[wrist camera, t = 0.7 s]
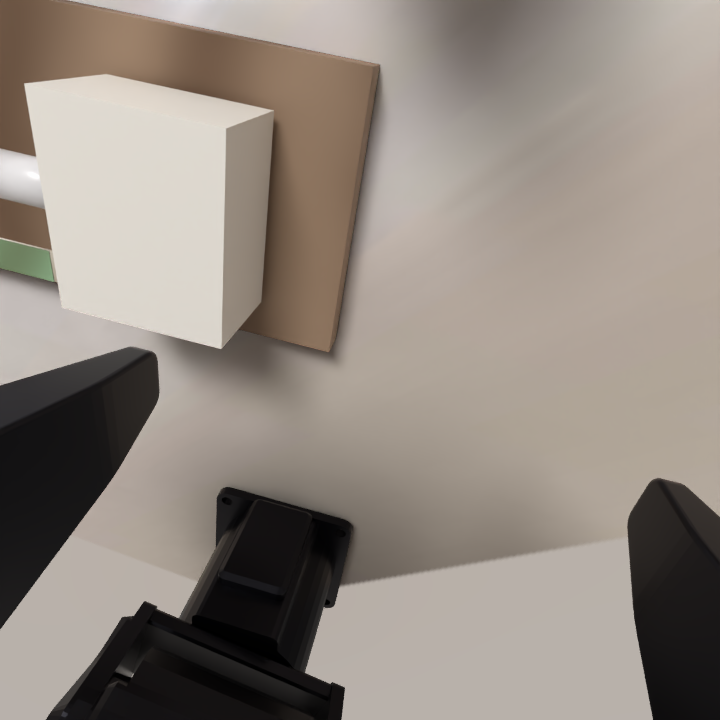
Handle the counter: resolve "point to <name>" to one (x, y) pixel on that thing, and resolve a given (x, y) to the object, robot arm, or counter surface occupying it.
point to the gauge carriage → (149, 202)
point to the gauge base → (224, 81)
